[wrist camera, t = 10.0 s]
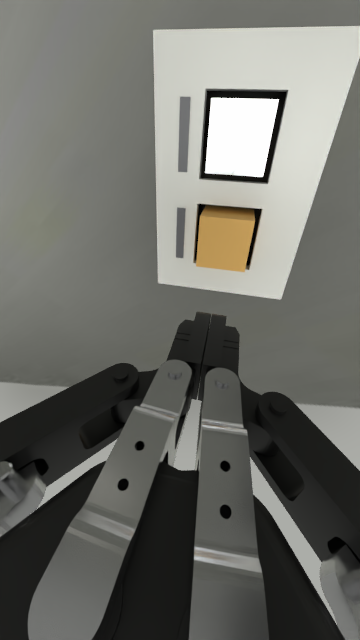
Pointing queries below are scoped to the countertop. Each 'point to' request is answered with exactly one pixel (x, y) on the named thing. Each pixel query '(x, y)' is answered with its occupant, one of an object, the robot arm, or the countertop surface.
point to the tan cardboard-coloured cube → (224, 237)
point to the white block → (239, 135)
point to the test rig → (289, 154)
